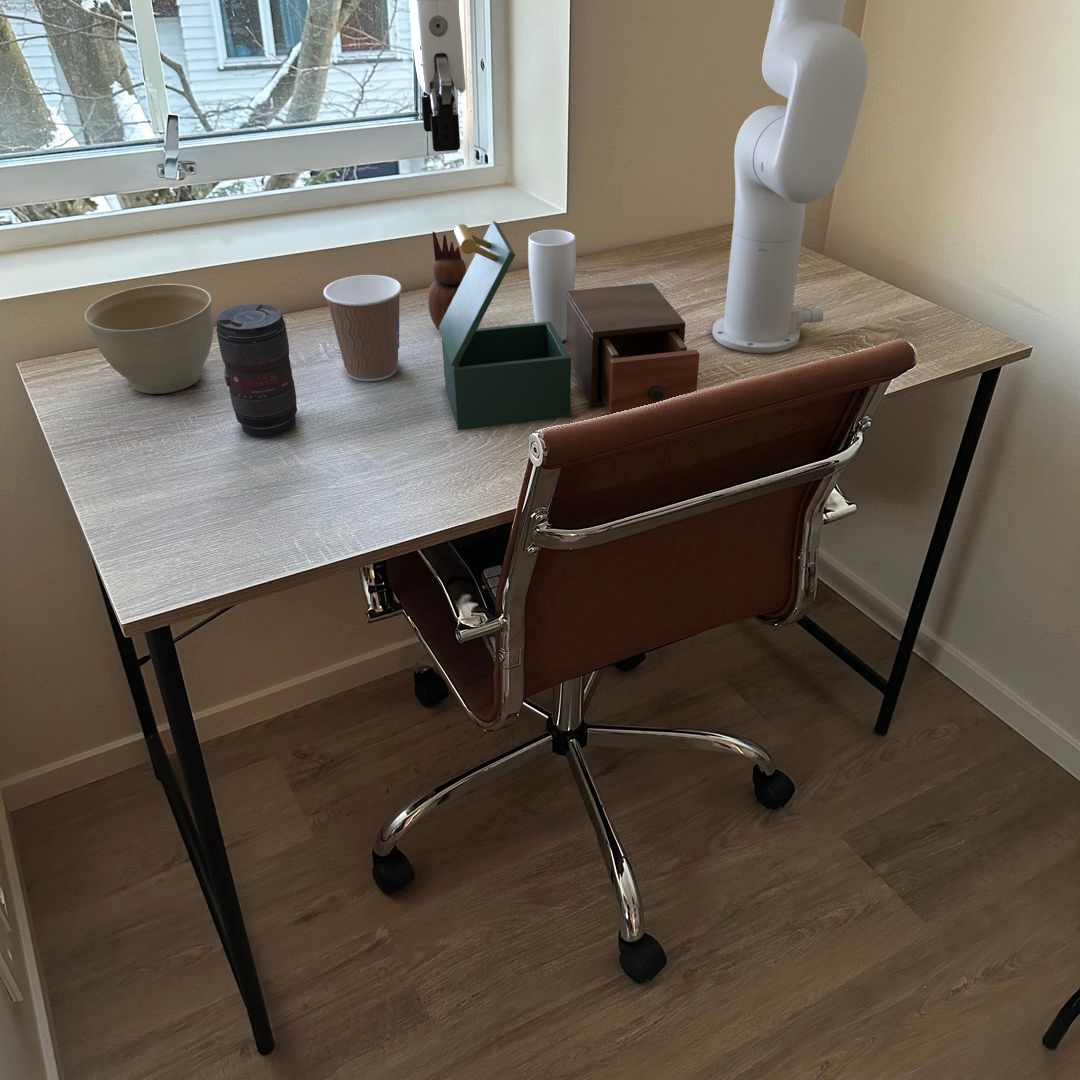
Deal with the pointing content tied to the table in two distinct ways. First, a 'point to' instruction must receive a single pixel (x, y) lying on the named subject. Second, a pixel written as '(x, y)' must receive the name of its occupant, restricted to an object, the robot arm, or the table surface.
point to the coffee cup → (366, 324)
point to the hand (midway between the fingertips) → (441, 140)
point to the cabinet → (612, 325)
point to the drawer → (644, 369)
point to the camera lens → (258, 368)
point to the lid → (475, 287)
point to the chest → (510, 377)
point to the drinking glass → (551, 276)
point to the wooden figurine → (444, 279)
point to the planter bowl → (154, 334)
